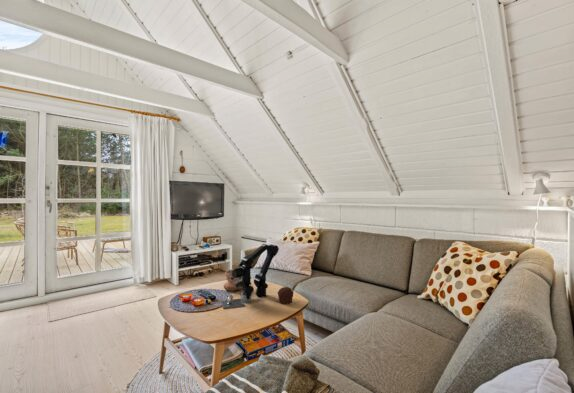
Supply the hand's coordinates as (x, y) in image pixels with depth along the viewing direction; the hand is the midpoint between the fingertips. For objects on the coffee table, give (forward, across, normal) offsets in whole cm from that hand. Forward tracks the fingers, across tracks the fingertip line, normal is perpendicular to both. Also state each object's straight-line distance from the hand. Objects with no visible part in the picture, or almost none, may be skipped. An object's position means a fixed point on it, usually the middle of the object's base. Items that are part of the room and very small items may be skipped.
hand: (246, 297), depth 204 cm
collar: (+2, 0, 0) cm, 2 cm away
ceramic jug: (+2, -26, -5) cm, 27 cm away
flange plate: (+2, +4, -11) cm, 12 cm away
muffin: (+2, +12, +25) cm, 28 cm away
